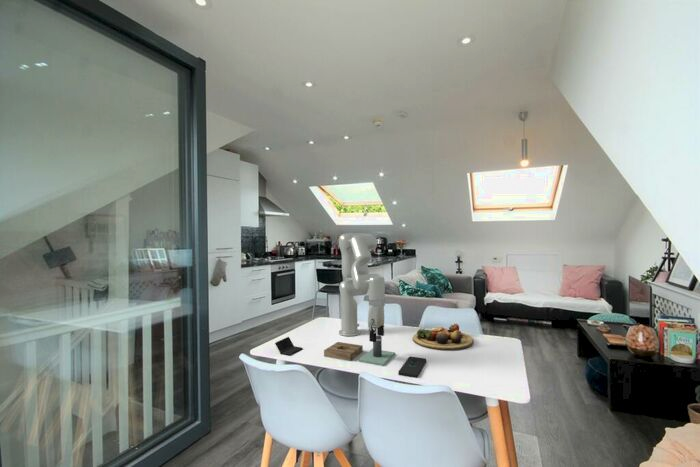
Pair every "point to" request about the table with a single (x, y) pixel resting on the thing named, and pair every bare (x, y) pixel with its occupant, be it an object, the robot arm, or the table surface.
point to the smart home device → (412, 367)
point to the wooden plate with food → (443, 339)
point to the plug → (377, 347)
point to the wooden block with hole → (343, 351)
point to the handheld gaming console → (287, 347)
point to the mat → (377, 358)
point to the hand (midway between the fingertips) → (376, 338)
